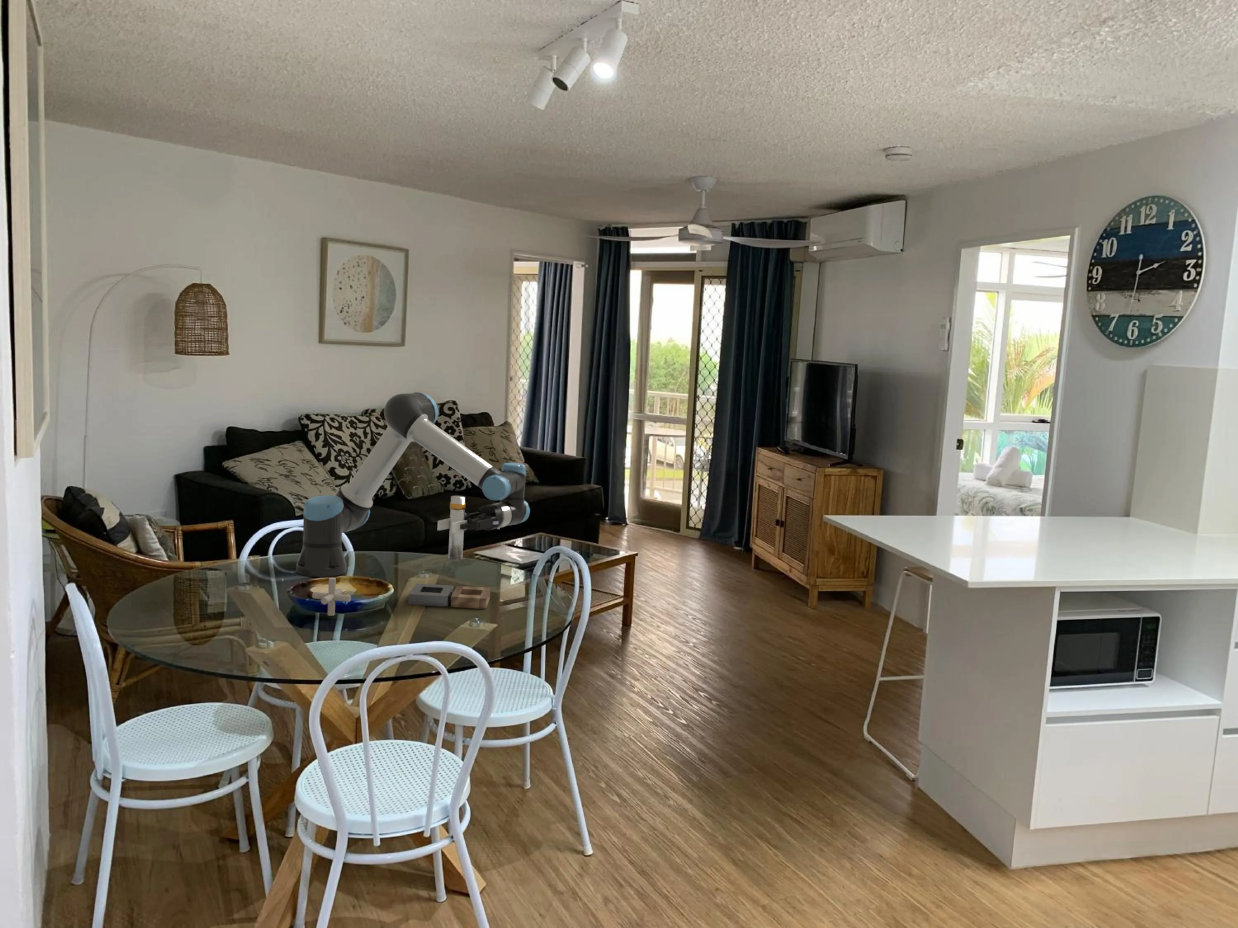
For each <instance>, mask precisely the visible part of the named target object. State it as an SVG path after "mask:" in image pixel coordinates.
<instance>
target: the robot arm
mask: <svg viewBox="0 0 1238 928" xmlns="http://www.w3.org/2000/svg"><path fill="white" fill-rule="evenodd" d="M383 414H384V420H385V422H386V426H387V427H386V429H385V431H384V432H383V434H382V435H381V436H380V438H379V439H378V441H377V442H376V444H375V445H374V447H373V448H372V449H371V450H370V453H369V454H368V455H367V457H366V458H365V460H364V461H363V462H362V464H361V466H360V467H359V469H357V472H356V473H355V474H354V476H353V477H352V478H351V480H350V482H349V483H347V484H342V485H341V487H340V488H339V490H338V491H337V492H336V494H335V495H331V494H330V495H327V494H326V495H320V496H318V495H316V496H312V497H310V498H308V499H307V500H306V501H305V502H304V508H303V511H302V512H303V513H302V515H303V520H302V521H303V522H302V523H303V527H302V548H301V550H300V551H301V552H300V554H299V556H298V559H297V562H296V565H295V572H296V573H297V574H299V575H302V576H305V577H306V576H307V577H315V578H316V577H317V578H322V577H323V578H324V577H325V578H326V577H336V576H339V575H343V574H345V573H347V562H346V558H345V555H344V552H343V548H342V544H343V543H342V541H343V537H342V536H343V534H344V533H348V532H350V531H355V530H357V529H359V528H360V527H362V526H363V525H364V524H366V522H367V521H368V520H369V517H370V514H371V510H370V509H371V508H372V507H373V504H374V501H373V497H374V495H375V494H376V493H377V491H378V490H379V488H380V487H381V486H382V484H383V483H384V481H385V480H386V479H387V477H388V475H389V474H390V473H391V471H392V470H393V468H394V467H395V465H396V464H397V462H398V461H399V459H400V458H401V457H402V455H403V454H404V452H405V451H406V449H407V447H408V446H409V445H410V443H417V444H418V445H419V446H421V447H422V448H424V449H425V450H426V451H427V452H429V453H430V454H432V455H434V456H435V457H436V458H438V459H439V460H441V461H442V462H444V463H445V464H446V465H447V466H449V467H450V468H452V469H453V470H455V472H457V473H458V474H460V475H462V477H464V478H466V479H467V480H468V481H470V482H472V483H473V484H474V485H475V486H477V487H478V488H480V489H481V490H482V493H483V495H484V496H485V497H486V499H488V500H490V501H499V502H497V503H492V504H487V505H483V506H480V508H479V509H478V510H477V511H474V512H472V513H467V512H465V513H464V521H459V522H454V523H451V532H450V531H449V533H455V532H459V531H464V532H465V531H467V530H468V531H472V530H474V531H476V532H477V531H481V530H484V531H492V530H495V529H496V530H500V528H504V527H509V526H512V525H518V524H521V523H523V522H526V521H527V520H528V518H529V516H530V513H531V508H530V506H529V503H528V502H527V501H526V500H525V494H526V493H525V490H526V488H525V487H526V478H527V474H526V472H527V471H526V465H525V464H523V463H519V462H504V463H502V465H501V471H500V469H499V470H498V469H497V468H496V467H495V466H493V465H492V464H490V463H489V462H488V461H486V460H485V459H483V458H482V457H480V456H479V455H477V454H476V453H475V452H474V451H472V450H471V449H469V448H468V447H466V446H465V444H462V443H461V442H460V441H458V440H457V439H456V438H454V437H452V436H451V435H450V434H448V432H445V431H444V430H443V429H441V428H440V427H439V426H437V425H435V423H436V421H437V419H438V416H439V409H438V404H437V403H436V401H435V400H434V399H433V398H432V397H431V396H430V395H428V394H427V393H423V392H420V391H419V392H418V391H416V392H409V393H398V394H395V395H393V396H392V397H390V398H389V399H388V400H387V402H386V404H385V406H384V410H383ZM448 529H449V530H450V515H447V516H446V518H445V519H439V520H437V531H443V530H448Z"/></svg>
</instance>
